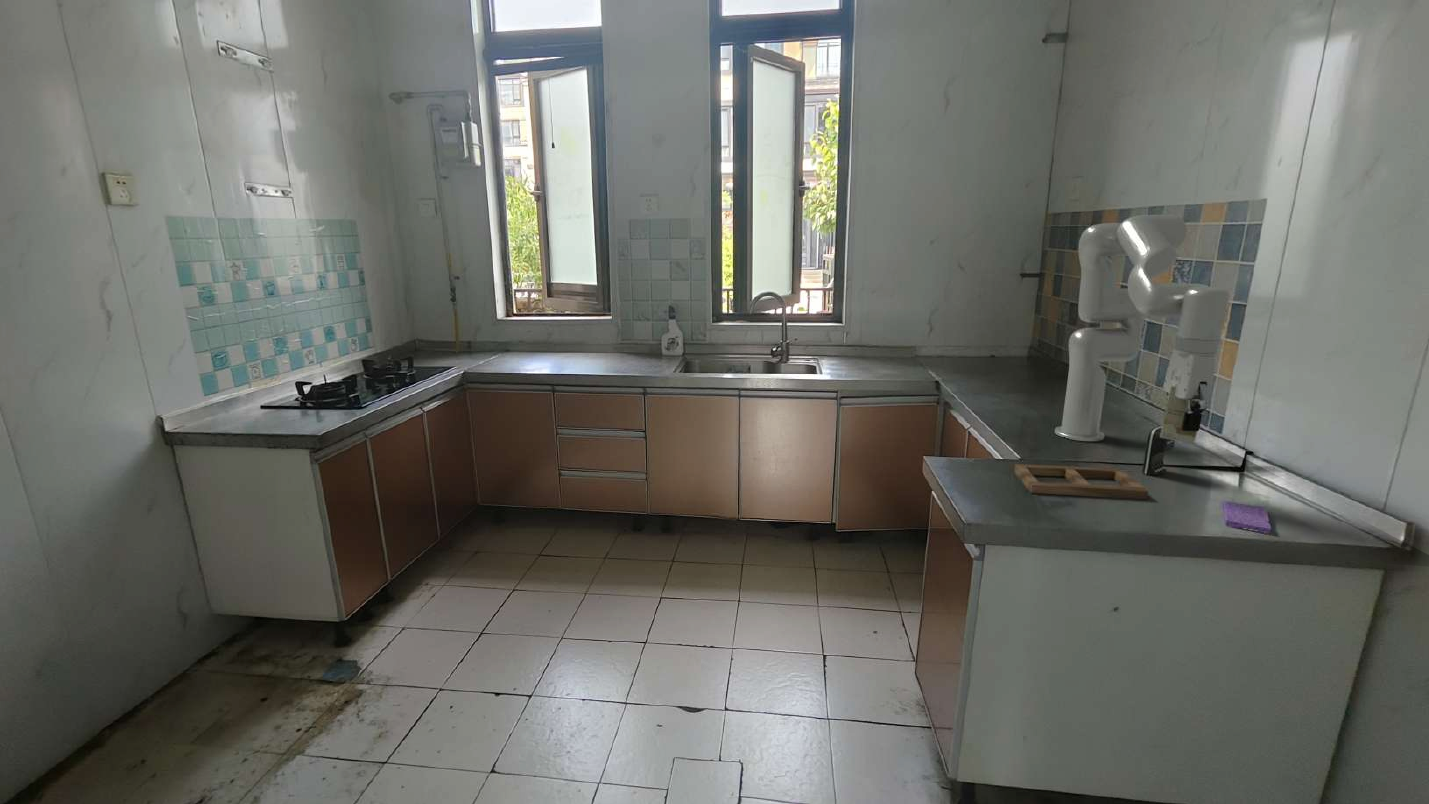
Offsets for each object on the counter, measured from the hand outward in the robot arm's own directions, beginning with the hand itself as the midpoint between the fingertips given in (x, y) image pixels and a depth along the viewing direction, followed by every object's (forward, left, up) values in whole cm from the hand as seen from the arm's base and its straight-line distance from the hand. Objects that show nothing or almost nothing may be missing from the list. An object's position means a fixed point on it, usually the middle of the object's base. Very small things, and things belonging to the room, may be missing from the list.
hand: (1180, 424), depth 140 cm
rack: (-1, -19, -16) cm, 25 cm away
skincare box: (0, 0, -3) cm, 3 cm away
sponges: (+13, +8, -17) cm, 23 cm away
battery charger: (-12, +3, -16) cm, 21 cm away
